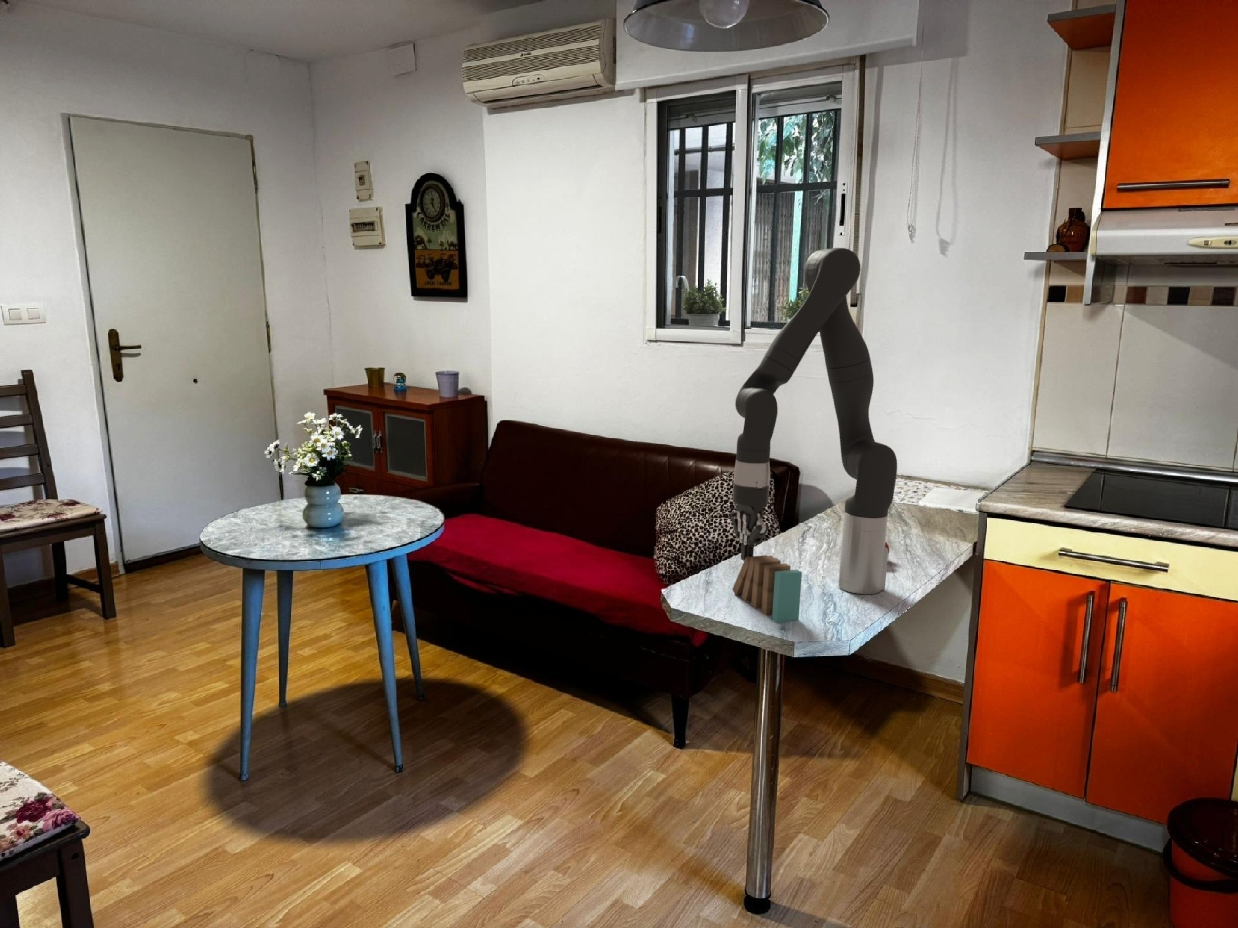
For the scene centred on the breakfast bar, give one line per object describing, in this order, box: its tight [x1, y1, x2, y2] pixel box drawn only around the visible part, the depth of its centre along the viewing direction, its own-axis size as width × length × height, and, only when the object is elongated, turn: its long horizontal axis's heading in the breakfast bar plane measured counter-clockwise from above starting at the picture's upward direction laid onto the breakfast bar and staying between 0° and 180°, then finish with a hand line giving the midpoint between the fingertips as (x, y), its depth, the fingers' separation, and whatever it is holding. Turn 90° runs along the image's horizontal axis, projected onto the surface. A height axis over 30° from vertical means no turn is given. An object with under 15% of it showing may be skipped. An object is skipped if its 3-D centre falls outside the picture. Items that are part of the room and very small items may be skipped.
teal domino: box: [771, 569, 803, 624], centre depth 169 cm, size 5×2×10 cm, turn 111°
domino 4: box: [761, 562, 791, 616], centre depth 173 cm, size 5×2×10 cm, turn 111°
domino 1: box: [732, 554, 768, 596], centre depth 182 cm, size 5×2×10 cm, turn 111°
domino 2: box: [741, 555, 774, 602], centre depth 179 cm, size 5×2×10 cm, turn 111°
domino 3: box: [750, 557, 782, 610], centre depth 177 cm, size 5×2×10 cm, turn 111°
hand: (746, 560), depth 184 cm, fingers closed
